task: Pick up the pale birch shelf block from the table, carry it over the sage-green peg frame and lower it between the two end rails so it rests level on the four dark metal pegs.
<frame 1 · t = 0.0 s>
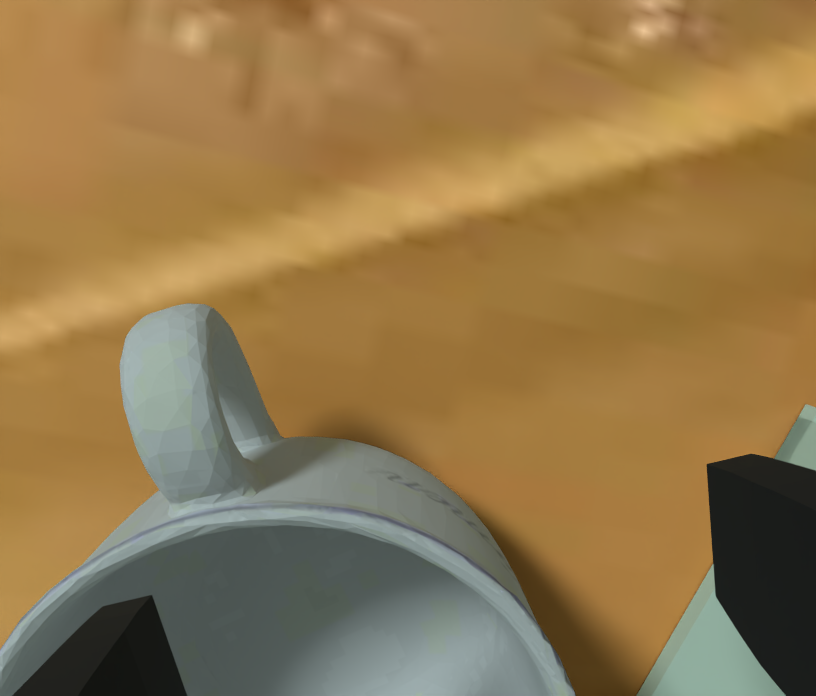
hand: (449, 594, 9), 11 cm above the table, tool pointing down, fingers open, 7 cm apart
teacup: (300, 538, 20), on the table
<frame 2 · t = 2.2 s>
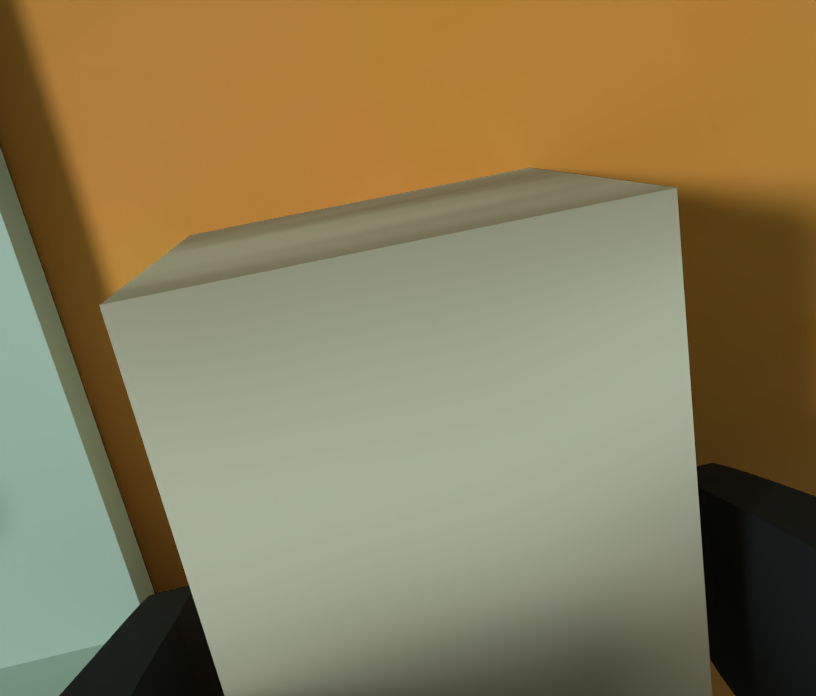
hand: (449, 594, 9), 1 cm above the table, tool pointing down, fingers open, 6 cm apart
shelf block: (427, 531, 11), on the table
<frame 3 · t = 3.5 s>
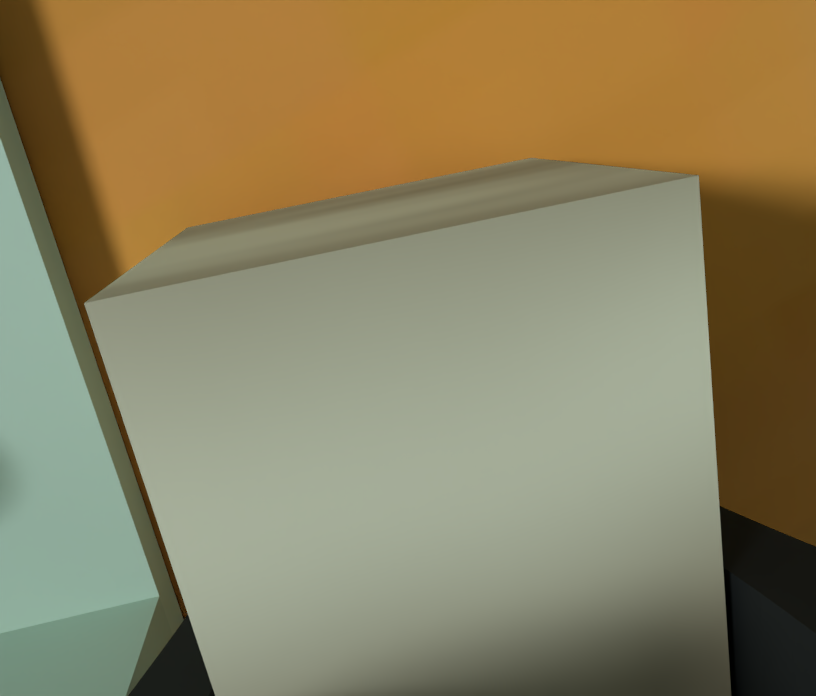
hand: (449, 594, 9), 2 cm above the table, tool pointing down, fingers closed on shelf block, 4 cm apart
shelf block: (431, 534, 11), point 1 cm above the table, touching gripper
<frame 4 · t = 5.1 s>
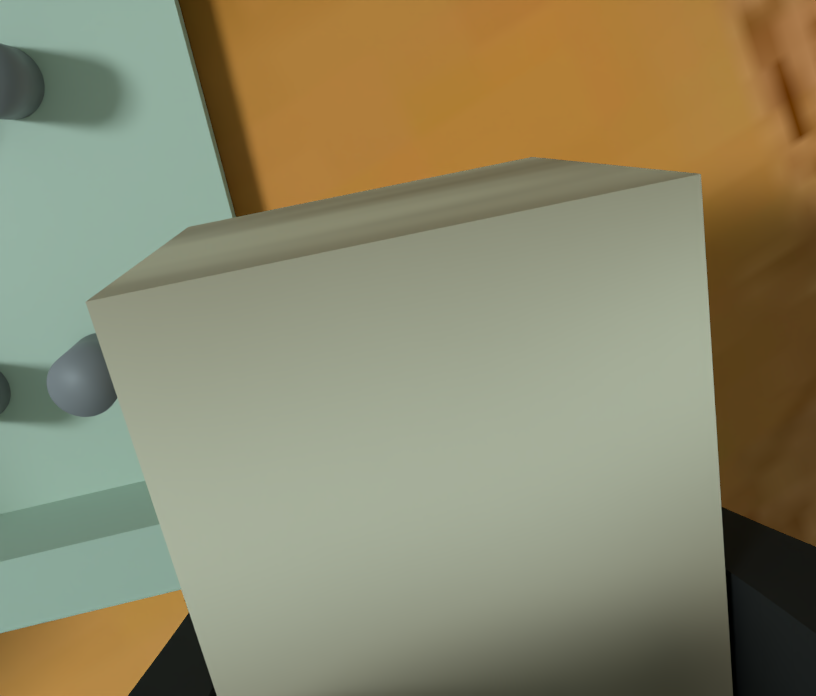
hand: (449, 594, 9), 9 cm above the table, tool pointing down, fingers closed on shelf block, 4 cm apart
shelf block: (432, 534, 11), point 7 cm above the table, touching gripper
peg frame: (3, 241, 16), on the table
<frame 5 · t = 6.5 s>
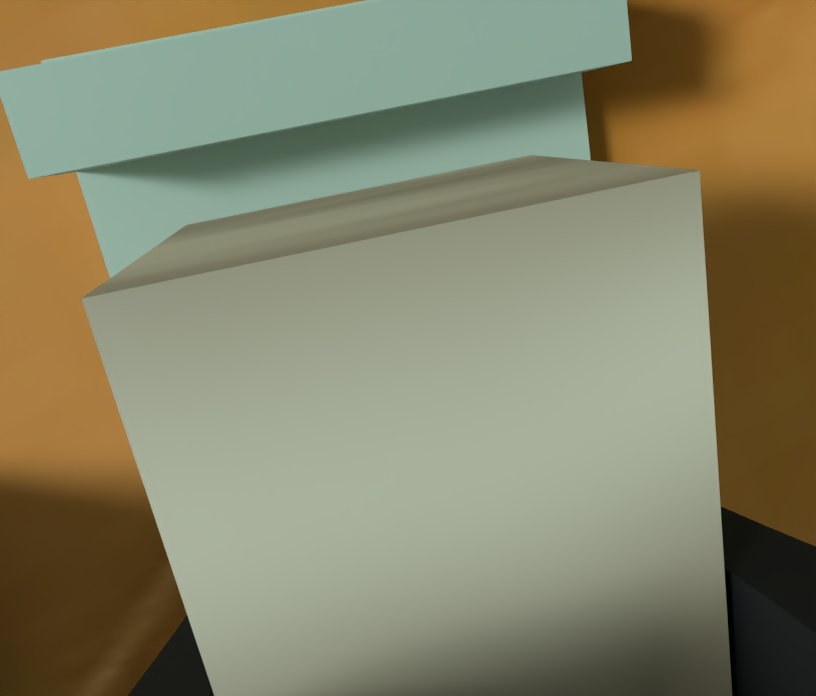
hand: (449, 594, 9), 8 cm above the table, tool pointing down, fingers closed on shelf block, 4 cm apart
shelf block: (431, 533, 11), point 6 cm above the table, touching gripper
peg frame: (390, 393, 16), on the table
when the fingers open (4 cm above the table, at t = 7.6 s): shelf block stays where it is, resting on peg frame.
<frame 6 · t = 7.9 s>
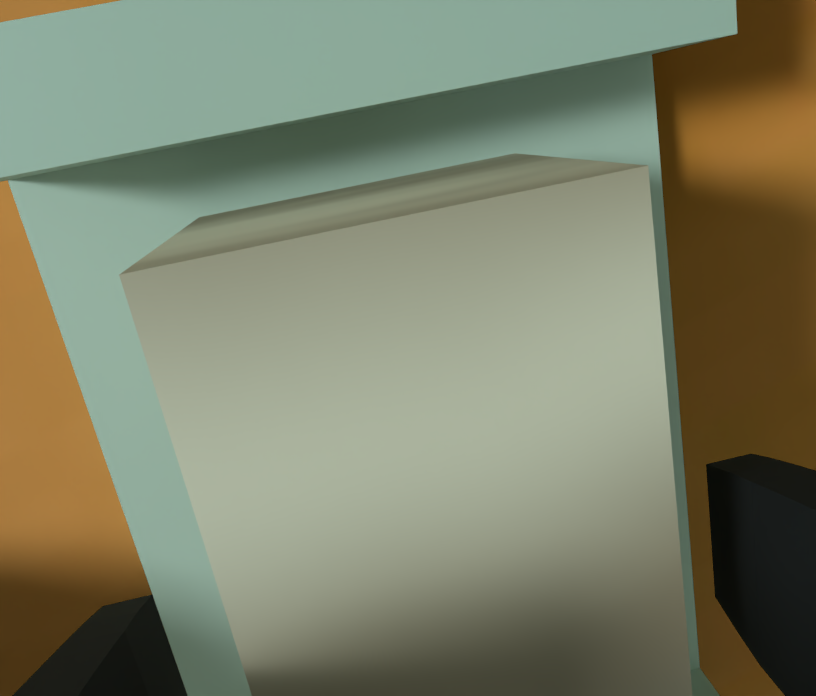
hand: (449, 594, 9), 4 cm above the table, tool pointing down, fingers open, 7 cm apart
shelf block: (424, 503, 11), point 2 cm above the table, touching peg frame
peg frame: (407, 450, 13), on the table
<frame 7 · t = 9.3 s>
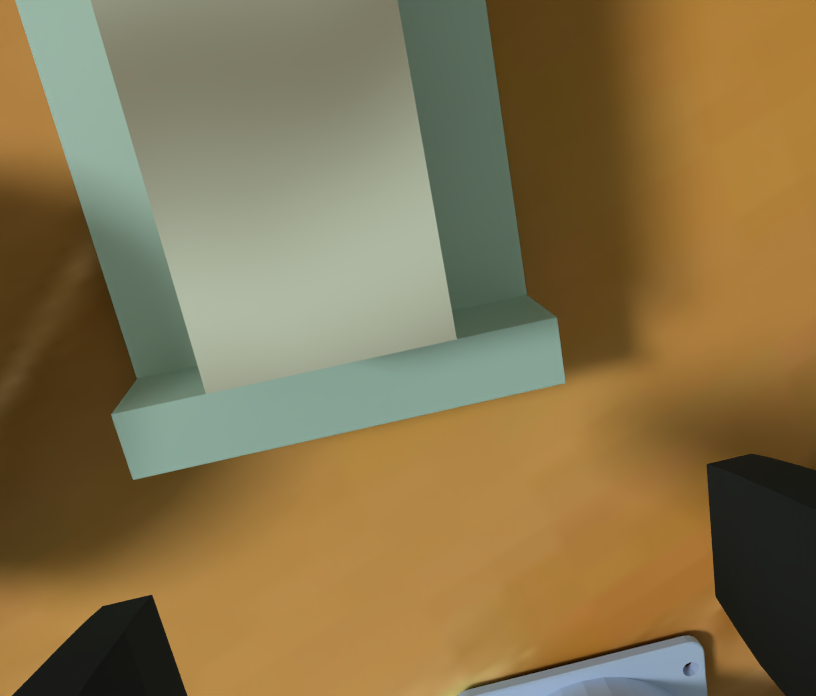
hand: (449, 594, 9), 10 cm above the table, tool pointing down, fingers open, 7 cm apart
shelf block: (275, 80, 15), point 2 cm above the table, touching peg frame
peg frame: (279, 88, 17), on the table
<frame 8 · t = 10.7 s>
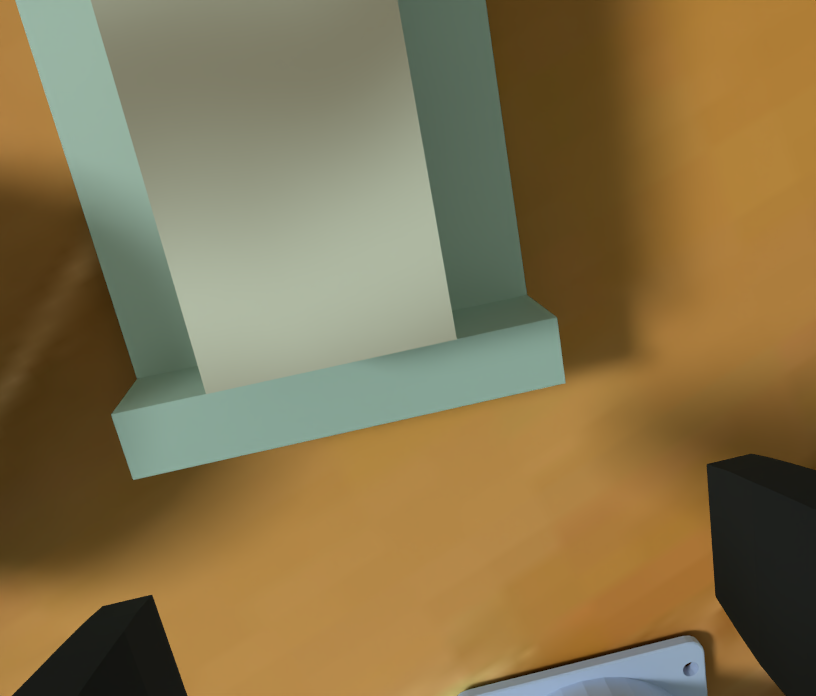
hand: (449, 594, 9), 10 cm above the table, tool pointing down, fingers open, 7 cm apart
shelf block: (275, 80, 15), point 2 cm above the table, touching peg frame
peg frame: (279, 88, 17), on the table
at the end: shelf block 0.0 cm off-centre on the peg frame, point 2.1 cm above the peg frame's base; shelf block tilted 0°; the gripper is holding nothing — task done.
